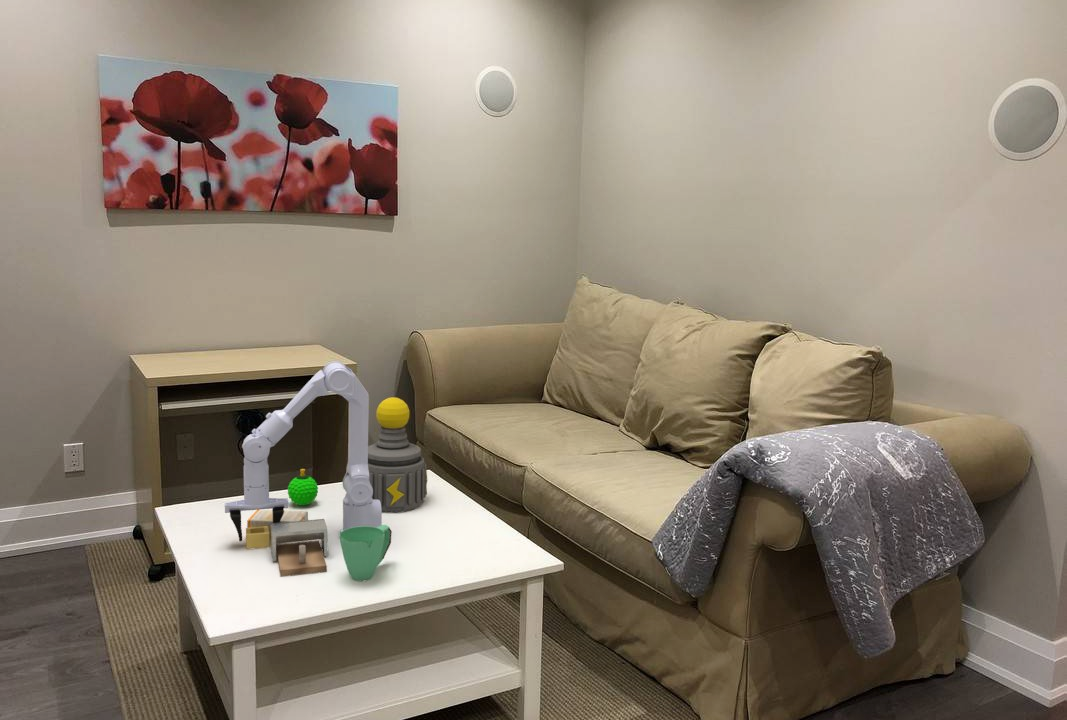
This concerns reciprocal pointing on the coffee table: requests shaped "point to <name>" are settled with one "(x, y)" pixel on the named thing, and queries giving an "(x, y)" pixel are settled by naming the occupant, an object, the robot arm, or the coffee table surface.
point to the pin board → (300, 558)
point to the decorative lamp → (396, 461)
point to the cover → (299, 533)
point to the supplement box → (266, 518)
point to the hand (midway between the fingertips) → (257, 538)
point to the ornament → (302, 489)
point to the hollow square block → (257, 537)
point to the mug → (364, 549)
